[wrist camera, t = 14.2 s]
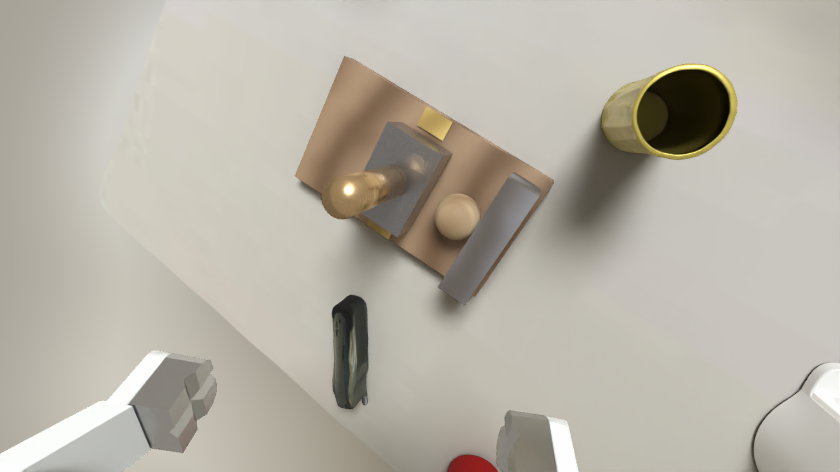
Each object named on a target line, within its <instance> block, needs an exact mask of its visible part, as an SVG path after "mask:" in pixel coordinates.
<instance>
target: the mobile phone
mask: <svg viewBox="0 0 840 472" xmlns="http://www.w3.org/2000/svg"><path fill="white" fill-rule="evenodd" d="M332 317H333V331H334V371H333V392H334V394H335V397H336V400H337V404H338V406H339V407H341V408H345V409H353V408H354V407H355V406H356V405H357V403H358V402H359V401H360V399H361V397H362V403H363V405H367V402H368V401H367V391H366V373H367V370H368V353H367V347H368V332H367V307H366V303H365V302H364V300H363V299H362V298H361V297H358V296H355V295H349V296H347V297H346V298H345V299H344V300H342V301H341V302H340V303H338V304H337V305H335V306H334V307H333V310H332Z"/></svg>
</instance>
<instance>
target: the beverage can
mask: <svg viewBox="0 0 840 472" xmlns="http://www.w3.org/2000/svg"><path fill="white" fill-rule="evenodd" d="M447 472H498V471H497V469H496V468H495V467H494V466H493V465H492V464H491V463H489V462H488V461H487V460H485V459H483V458H481V457H478V456H474V455H463V456H459V457H457V458H455V459H454V460H453V461H452V462H451V464H450V465H449V468H448V471H447Z"/></svg>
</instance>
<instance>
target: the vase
mask: <svg viewBox="0 0 840 472" xmlns="http://www.w3.org/2000/svg"><path fill="white" fill-rule="evenodd" d="M736 114H737V97H736V94H735V90H734V88H733V85H732V84H731V82H730V81H729V79H728V78H727V77H726V76H725V75H724V74H722V73H721V72H720V71H718V70H717V69H715V68H713V67H711V66H708V65H704V64H682V65H678V66H675V67H672V68H669V69H666V70H663V71H661V72H659V73H657V74H655V75H653V76H650V77H648V78H645V79H643V80H640V81H636V82H632V83H629V84H627V85H625V86H623V87H622V88H620V89H619V90H617V91H616V92H615V93H614V94H613V95H612V96H611V98H610V99H609V100H608V102H607V104H606V105H605V108H604V110H603V114H602V129H603V132H604V134H605V136H606V138H607V139H608V141H609V142H610V143H611V144H612V145H613V146H614V147H616V148H617V149H619V150H621V151H624V152H629V153H646V154H649V155H653V156H658V157H663V158H668V159H674V160H681V159H688V158H692V157H696V156H699V155H701V154H703V153H705V152H707V151H709V150H710V149H711V148H713V147H714V146H715V145H716V144H718V143H719V142H720V141H721V140H722V139H723V138H724V137H725V136H726V135H727V133H728V132H729V130H730V128H731V126H732V124H733V121H734V119H735V116H736Z"/></svg>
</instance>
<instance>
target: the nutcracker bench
mask: <svg viewBox="0 0 840 472" xmlns="http://www.w3.org/2000/svg"><path fill="white" fill-rule="evenodd" d="M387 122H403V123H404V124H406V125H407V126H409V127H411V128H412V129H414V130H416V131H417V132H419V133H420V134H422V135H424V136H425V137H427V138H429V139H430V140H432V141H433V142H435V143H437V144H438V145H440V146H441V147H443V148H445V149H446V150H448V151H450V152H451V153H453V154H452V156H451V158H450V159H449V161H448V163H447V165H446V166H445V168H444V170H443V172H442V173H441V175H440V177H439V179H438V181H437V182H436V184H435V186H434V188H433V189H432V191H431V193H430V195H429V196H428V198H427V200H426V202H425V203H424V205H423V207H422V209H421V211H420V212H419V214H418V216H417V218H416V219H415V221H414V223H413V225H412V226H411V228H410V229H409V230H408V231H406V232H405V233H403V234H402V235H400V236H399V237H396V236H394V235H393V234H391V233H390V232H388V231H387V230H385V229H384V228H382V227H381V226H379V225H378V224H376V223H375V222H373V221H372V220H370V219H369V218H367V217H366V216H364V215H363V214H361V213H359V214H357V215H354V216H355V217H357V218H358V219H360V220H361V221H363V222H364V223H366V225H367V226H369V227H370V228H372V229H373V230H375V231H376V232H378V233H379V234H381V235H382V236H384V237H385V238H387V239H388V240H391V241H392V242H394V243H395V244H397V245H398V246H400V247H401V248H403V249H404V250H406V251H407V252H409V253H410V254H412V255H413V256H415V257H416V258H418V259H419V260H421V261H422V262H424V263H425V264H427V265H428V266H430V267H431V268H433V269H434V270H436V271H437V272H439V273H440V274H442V275H443V276H445V277H444V278H443V280H442V281H441V283H440V284H439V286H438V288H440V289H441V290H443V291H444V292H445V293H447V294H448V295H450V296H451V297H453V298H454V299H456V300H457V301H459V302H460V303H462V304H463V305H465V304H466V303H467V301H468V300H469V298H470V297H471V295H473V296H476V294H477V293H478V292H479V290H480V289H481V287H482V286H483V284H484V283H485V281H486V280H487V279H488V277H489V276H490V274H491V273H492V271H493V270H494V268H495V267H496V266H497V264H498V263H499V261H500V260H501V258H502V257H503V255H504V254H505V253H506V251H507V250H508V248H509V247H510V245H511V244H512V242H513V241H514V240H515V238H516V237H517V235H518V234H519V232H520V231H521V229H522V228H523V226H524V225H525V224H526V222H527V221H528V219H529V218H530V216H531V215H532V213H533V212H534V211H535V209H536V208H537V206H538V205H539V203H540V202H541V200H542V199H543V198H544V196H545V195H546V193H547V192H548V190H549V189H550V187H551V186H552V185H553V183H554V180H553V179H551V178H549V177H548V176H546V175H544V174H543V173H541V172H539V171H538V170H536V169H534V168H533V167H531V166H529V165H528V164H526V163H524V162H523V161H521V160H520V159H518V158H516V157H515V156H513V155H511V154H510V153H508V152H506V151H505V150H503V149H501V148H500V147H498V146H496V145H495V144H493V143H491V142H490V141H488V140H486V139H485V138H483V137H481V136H480V135H478V134H477V133H475V132H473V131H472V130H470V129H468V128H467V127H465V126H463V125H462V124H460V123H458V122H457V121H455V120H453V119H452V118H450V117H448V116H447V115H445V114H443V113H442V112H440V111H438V110H437V109H435V108H433V107H432V106H430V105H429V104H427V103H425V102H424V101H422V100H420V99H419V98H417V97H415V96H414V95H412V94H410V93H409V92H407V91H405V90H404V89H402V88H400V87H399V86H397V85H395V84H394V83H392V82H390V81H389V80H387V79H386V78H384V77H382V76H381V75H379V74H377V73H376V72H374V71H372V70H371V69H369V68H367V67H366V66H364V65H362V64H361V63H359V62H357V61H356V60H354V59H351V58H348V57H345V56H344V58H343V61H342V63H341V65H340V68H339V70H338V73H337V75H336V78H335V80H334V82H333V85H332V87H331V90H330V92H329V95H328V97H327V99H326V102H325V104H324V107H323V109H322V111H321V114H320V116H319V119H318V121H317V124H316V126H315V128H314V131H313V133H312V136H311V138H310V141H309V143H308V145H307V148H306V150H305V153H304V155H303V157H302V160H301V162H300V165H299V167H298V170H297V172H296V174H295V177H297V178H298V179H300V180H301V181H303V182H304V183H306V184H307V185H309V186H310V187H312V188H313V189H315V190H316V191H318V192H319V193H322V189H323V187H324V185H325V184H326V183H327V182H328V181H329V180H331V179H333V178H337V177H341V176H345V175H350V174H354V173H359V172H363V171H364V169H365V167H366V165H367V163H368V161H369V159H370V157H371V154H372V152H373V150H374V148H375V146H376V144H377V142H378V140H379V138H380V136H381V134H382V132H383V130H384V128H385V125H386V123H387Z"/></svg>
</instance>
